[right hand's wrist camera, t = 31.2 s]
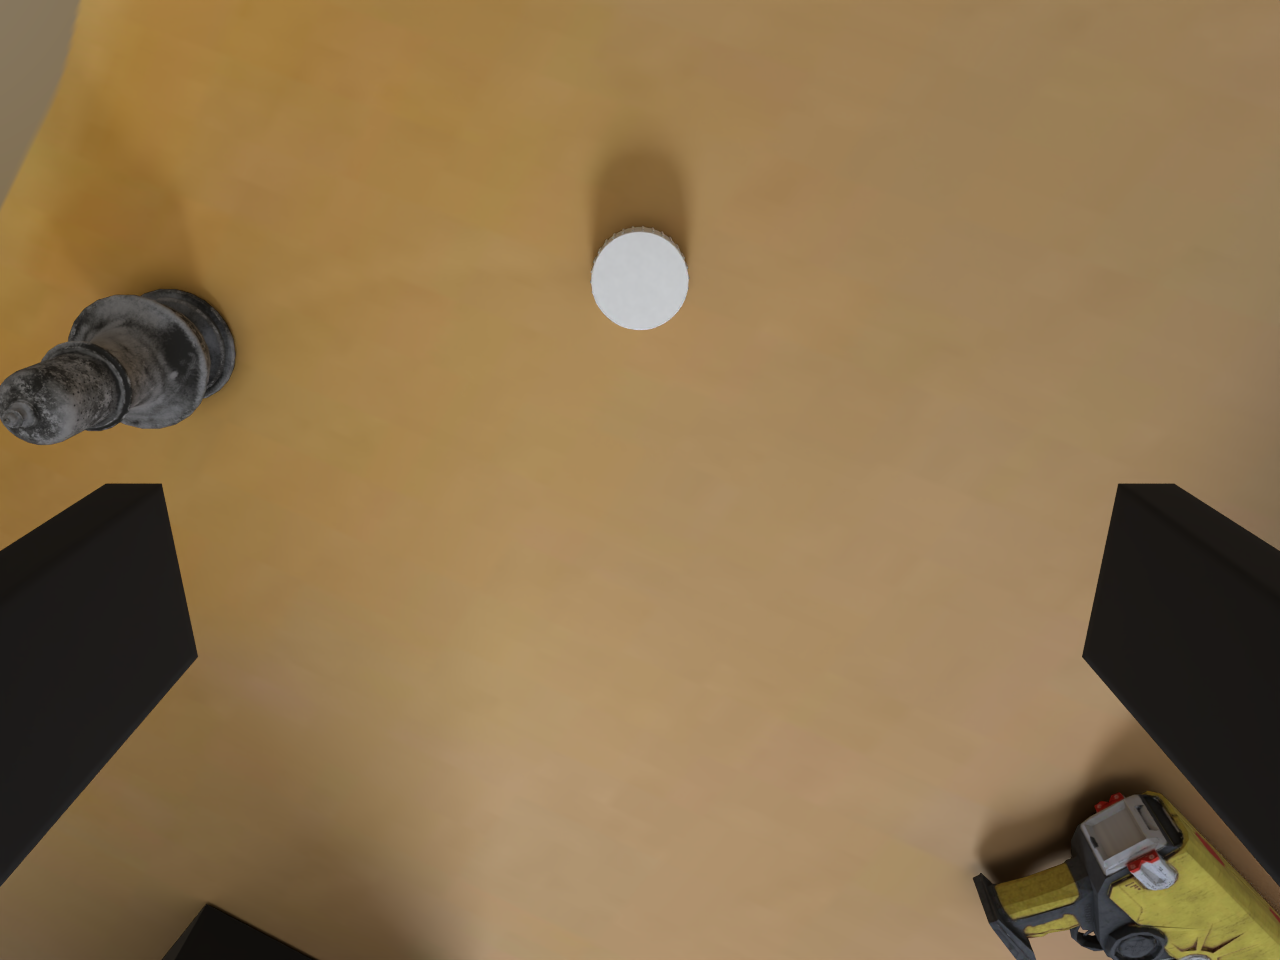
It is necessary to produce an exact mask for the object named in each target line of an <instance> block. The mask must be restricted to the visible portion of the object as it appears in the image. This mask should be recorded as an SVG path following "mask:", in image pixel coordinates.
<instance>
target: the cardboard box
mask: <svg viewBox="0 0 1280 960" xmlns="http://www.w3.org/2000/svg"><path fill="white" fill-rule="evenodd" d="M162 960H312V959H310V958H308V957H306V956H304V955H302V954H301V953H299V952H297V951H295V950H293V949H291V948H289V947H287V946H285V945H283V944H282V943H280V942H278V941H276V940H274V939H272V938H270V937H268V936H266V935H264V934H262V933H261V932H259V931H257V930H255V929H253V928H251V927H249V926H247V925H245V924H243V923H241V922H240V921H238V920H236V919H234V918H232V917H230V916H228V915H226V914H224V913H222V912H221V911H219V910H217V909H215V908H213V907H211V906H209V905H207V904H206V905H205V906H204V908H203V909H202V910H201V911H200V913H199V914H198V915H197V916H196V918H195V919H194V920H193V921H192V923H191V924H190V925H189V926H188V928H187V929H186V930H185V931H184V933H183V934H182V935H181V936H180V938H179V939H178V940H177V941H176V943H175V944H174V945H173V946H172V948H171V949H170V950H169V951H168V953H167V954H166V955H165V956H164V958H163V959H162Z"/></svg>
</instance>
